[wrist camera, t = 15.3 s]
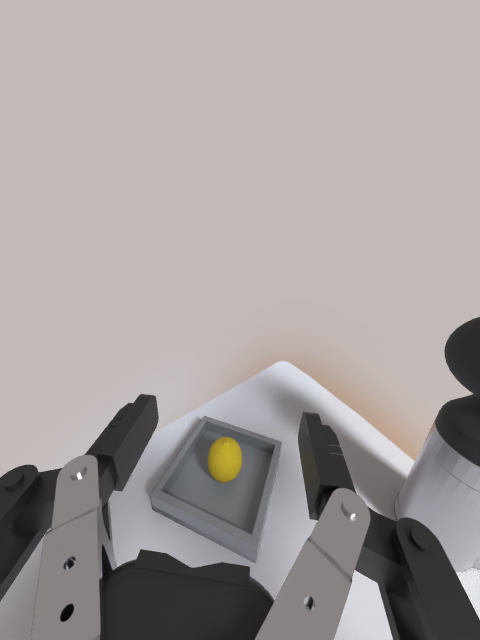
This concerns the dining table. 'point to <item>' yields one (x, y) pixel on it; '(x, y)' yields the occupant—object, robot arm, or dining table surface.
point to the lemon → (224, 459)
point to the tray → (221, 488)
